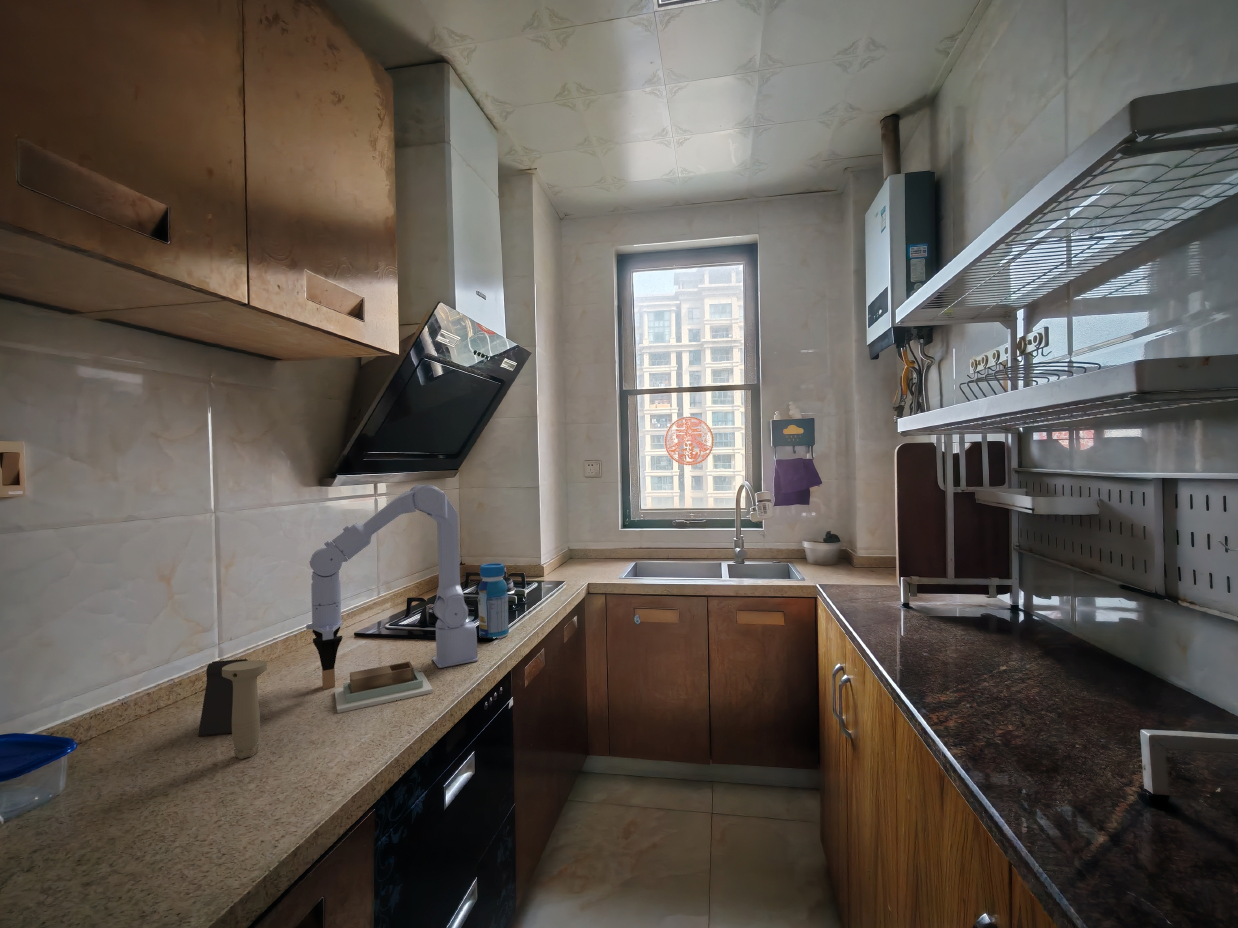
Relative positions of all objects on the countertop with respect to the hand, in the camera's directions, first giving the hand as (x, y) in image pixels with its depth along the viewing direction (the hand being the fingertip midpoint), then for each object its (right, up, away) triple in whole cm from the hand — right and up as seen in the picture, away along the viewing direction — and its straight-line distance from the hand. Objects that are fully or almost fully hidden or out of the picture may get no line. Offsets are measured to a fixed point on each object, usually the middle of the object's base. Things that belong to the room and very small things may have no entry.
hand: (327, 664), depth 124 cm
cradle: (+14, -4, -5) cm, 16 cm away
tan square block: (0, -5, 0) cm, 5 cm away
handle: (+2, -5, -30) cm, 30 cm away
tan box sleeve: (+14, -4, -5) cm, 15 cm away
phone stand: (-9, -5, -18) cm, 21 cm away
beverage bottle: (+29, -4, +34) cm, 45 cm away
